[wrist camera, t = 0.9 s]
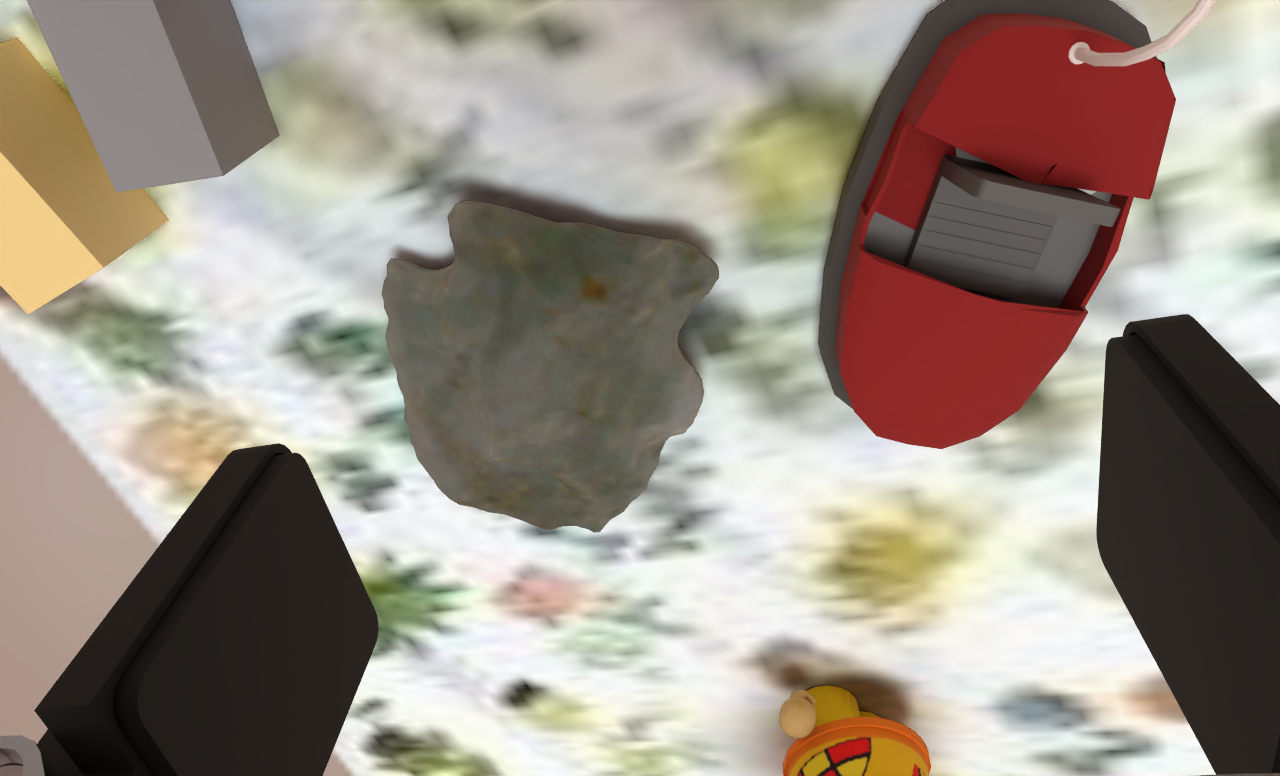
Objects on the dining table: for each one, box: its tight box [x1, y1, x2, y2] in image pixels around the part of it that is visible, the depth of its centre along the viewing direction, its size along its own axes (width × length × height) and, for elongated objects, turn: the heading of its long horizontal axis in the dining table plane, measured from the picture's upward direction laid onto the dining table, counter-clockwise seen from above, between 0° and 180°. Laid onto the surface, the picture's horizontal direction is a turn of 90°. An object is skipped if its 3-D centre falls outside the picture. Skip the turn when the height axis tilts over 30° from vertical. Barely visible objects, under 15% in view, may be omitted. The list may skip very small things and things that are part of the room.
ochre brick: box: [0, 38, 169, 314], centre depth 35 cm, size 8×4×5 cm, turn 29°
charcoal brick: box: [27, 0, 279, 193], centre depth 32 cm, size 8×4×5 cm, turn 10°
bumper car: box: [818, 0, 1216, 449], centre depth 31 cm, size 10×20×10 cm, turn 169°
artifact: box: [382, 200, 719, 532], centre depth 39 cm, size 14×4×15 cm
